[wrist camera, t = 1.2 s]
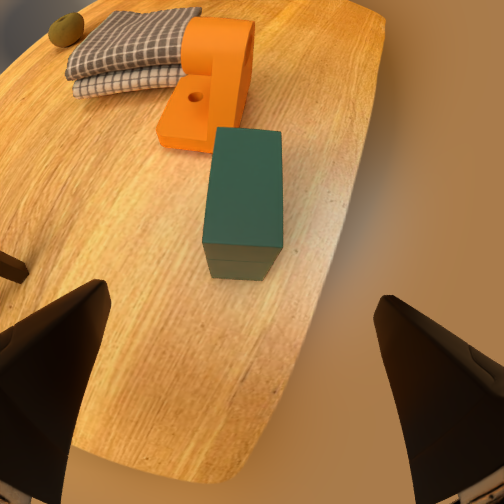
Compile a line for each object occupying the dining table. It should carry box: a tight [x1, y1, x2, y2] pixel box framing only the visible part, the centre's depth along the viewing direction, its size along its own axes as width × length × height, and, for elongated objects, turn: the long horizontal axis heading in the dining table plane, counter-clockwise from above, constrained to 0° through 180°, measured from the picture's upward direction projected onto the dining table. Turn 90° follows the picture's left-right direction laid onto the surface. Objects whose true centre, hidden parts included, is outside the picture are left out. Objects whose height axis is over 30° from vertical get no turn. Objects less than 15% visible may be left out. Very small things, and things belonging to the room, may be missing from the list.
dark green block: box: [202, 127, 283, 281], centre depth 19 cm, size 8×4×8 cm, turn 178°
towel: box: [65, 7, 202, 99], centre depth 25 cm, size 15×18×8 cm
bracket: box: [156, 17, 255, 153], centre depth 20 cm, size 11×7×12 cm, turn 171°
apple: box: [48, 13, 84, 48], centre depth 28 cm, size 8×8×7 cm
